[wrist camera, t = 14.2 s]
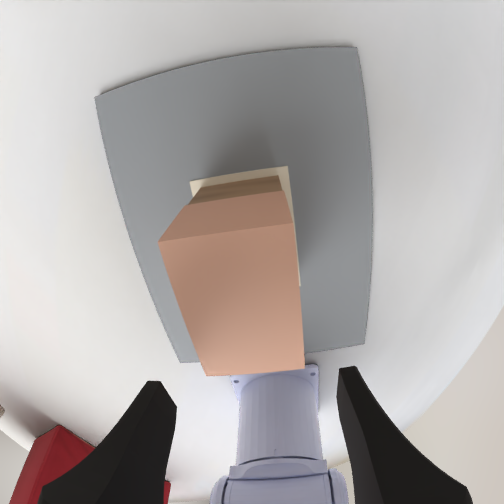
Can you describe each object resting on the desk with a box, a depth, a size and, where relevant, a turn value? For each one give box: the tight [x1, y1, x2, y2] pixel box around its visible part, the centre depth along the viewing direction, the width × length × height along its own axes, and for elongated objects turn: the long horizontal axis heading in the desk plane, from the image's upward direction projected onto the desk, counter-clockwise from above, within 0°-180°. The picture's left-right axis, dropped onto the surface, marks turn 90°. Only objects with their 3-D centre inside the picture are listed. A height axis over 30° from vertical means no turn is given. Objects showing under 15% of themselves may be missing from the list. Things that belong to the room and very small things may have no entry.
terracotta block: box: [158, 191, 305, 376], centre depth 13 cm, size 7×5×4 cm, turn 9°
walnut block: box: [188, 175, 283, 205], centre depth 16 cm, size 7×5×4 cm, turn 9°
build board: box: [94, 47, 373, 363], centre depth 19 cm, size 22×16×1 cm
